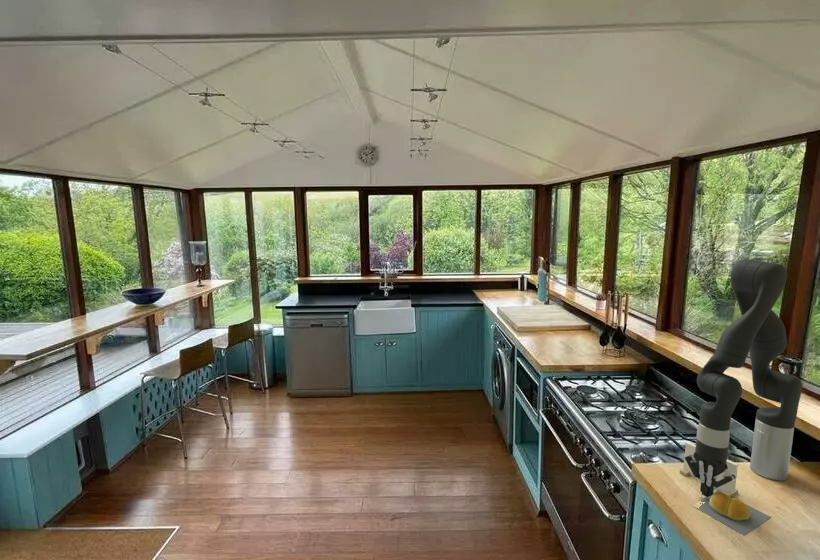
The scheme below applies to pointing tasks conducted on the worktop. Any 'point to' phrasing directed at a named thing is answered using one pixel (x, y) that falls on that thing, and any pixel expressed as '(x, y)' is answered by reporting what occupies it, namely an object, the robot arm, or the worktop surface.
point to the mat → (739, 526)
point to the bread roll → (729, 506)
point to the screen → (726, 488)
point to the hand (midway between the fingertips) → (706, 495)
